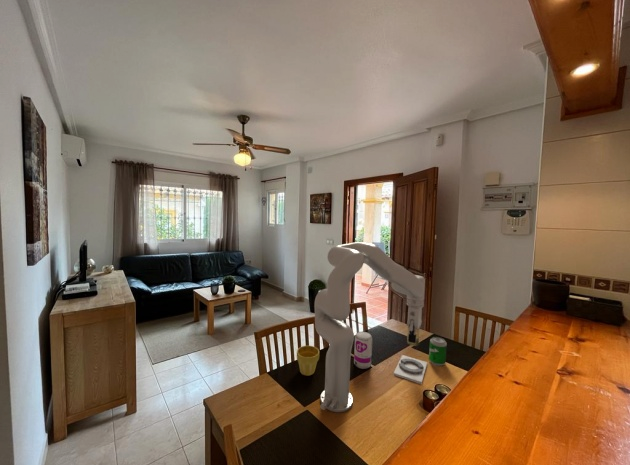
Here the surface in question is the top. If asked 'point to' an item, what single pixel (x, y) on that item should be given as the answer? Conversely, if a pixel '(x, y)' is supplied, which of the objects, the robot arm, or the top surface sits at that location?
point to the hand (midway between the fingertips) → (413, 339)
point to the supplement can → (363, 350)
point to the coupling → (416, 336)
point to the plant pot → (307, 359)
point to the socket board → (411, 369)
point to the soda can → (437, 351)
